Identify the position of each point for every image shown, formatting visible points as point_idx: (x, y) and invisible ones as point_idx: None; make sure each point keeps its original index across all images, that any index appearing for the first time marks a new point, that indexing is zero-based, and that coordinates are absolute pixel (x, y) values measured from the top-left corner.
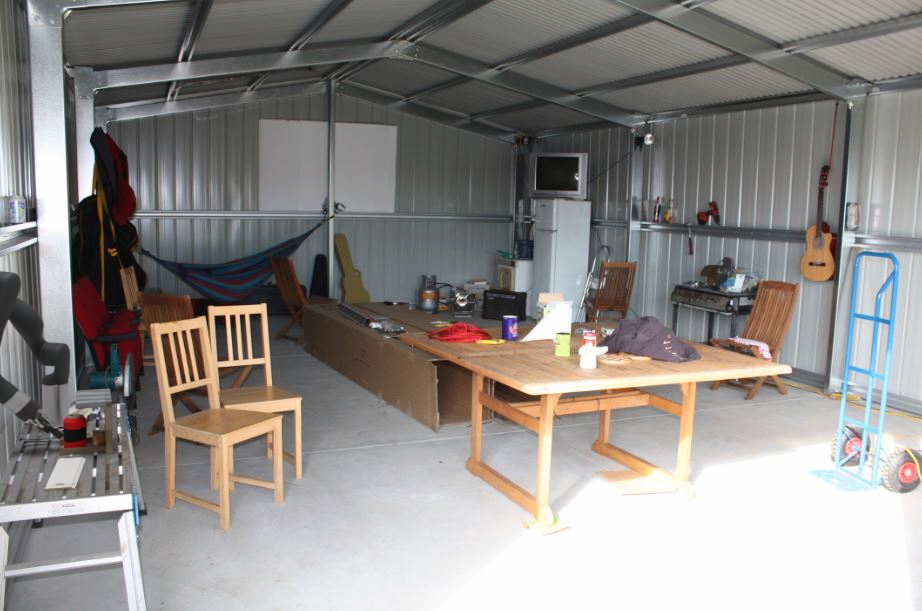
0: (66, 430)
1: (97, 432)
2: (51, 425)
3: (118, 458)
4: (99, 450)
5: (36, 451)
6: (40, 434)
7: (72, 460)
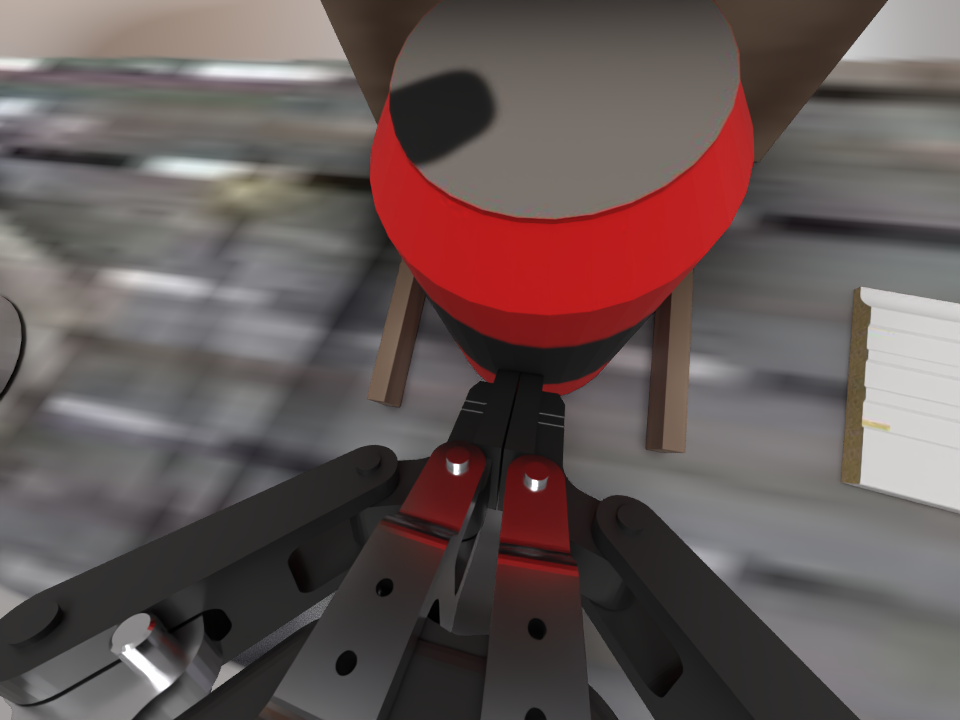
0: (631, 328)
1: None
2: (562, 533)
3: (902, 106)
4: None
5: (471, 600)
6: (56, 487)
7: (954, 385)
